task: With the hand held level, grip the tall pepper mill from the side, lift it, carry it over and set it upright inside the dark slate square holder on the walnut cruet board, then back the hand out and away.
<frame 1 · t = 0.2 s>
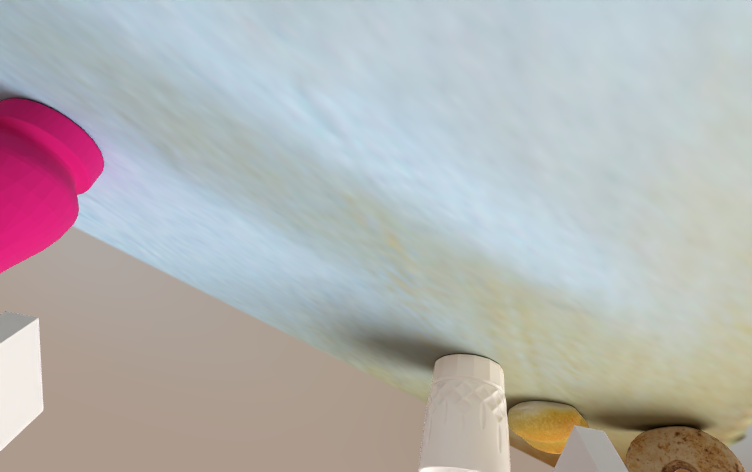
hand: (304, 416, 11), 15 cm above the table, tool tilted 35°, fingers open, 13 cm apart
pepper mill: (54, 138, 27), on the table
white cup: (468, 365, 44), on the table
bread roll: (547, 410, 51), on the table
stone disc: (671, 426, 47), on the table
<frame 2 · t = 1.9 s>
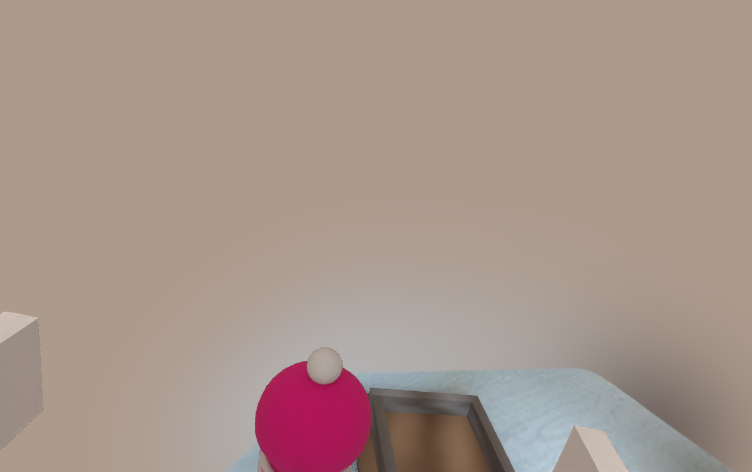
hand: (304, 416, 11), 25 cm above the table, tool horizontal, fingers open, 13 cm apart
cruet board: (432, 460, 42), on the table
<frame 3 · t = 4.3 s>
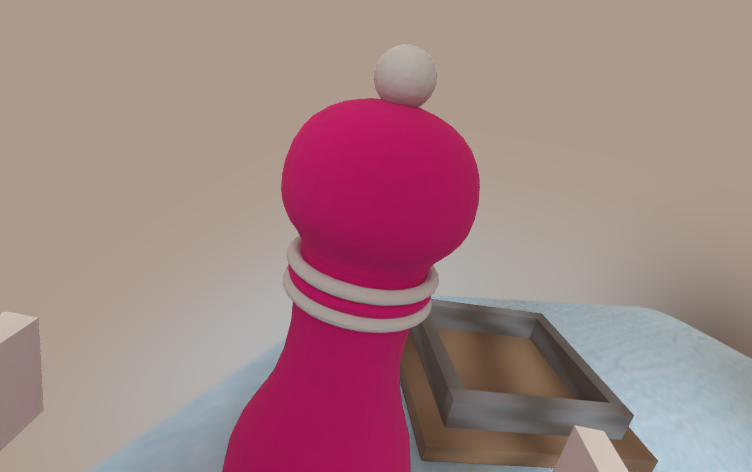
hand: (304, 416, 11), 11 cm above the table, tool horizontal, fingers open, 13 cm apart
cruet board: (494, 381, 33), on the table
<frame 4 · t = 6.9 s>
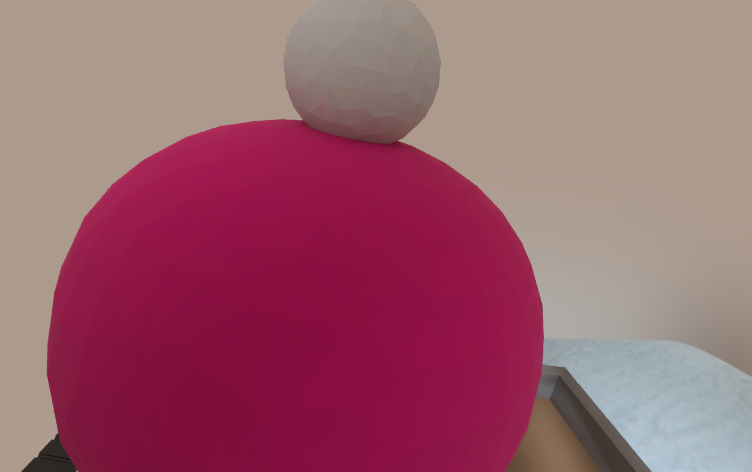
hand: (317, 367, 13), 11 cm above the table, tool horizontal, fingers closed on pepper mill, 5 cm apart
cruet board: (510, 467, 25), on the table
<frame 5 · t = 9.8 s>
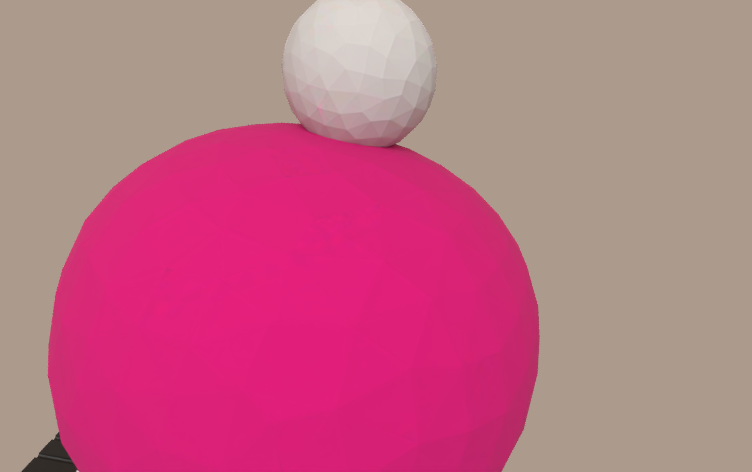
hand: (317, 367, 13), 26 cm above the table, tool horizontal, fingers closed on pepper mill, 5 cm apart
when the fingers open (13 cm above the table, at t = 13.0 s): pepper mill stays where it is, resting on cruet board.
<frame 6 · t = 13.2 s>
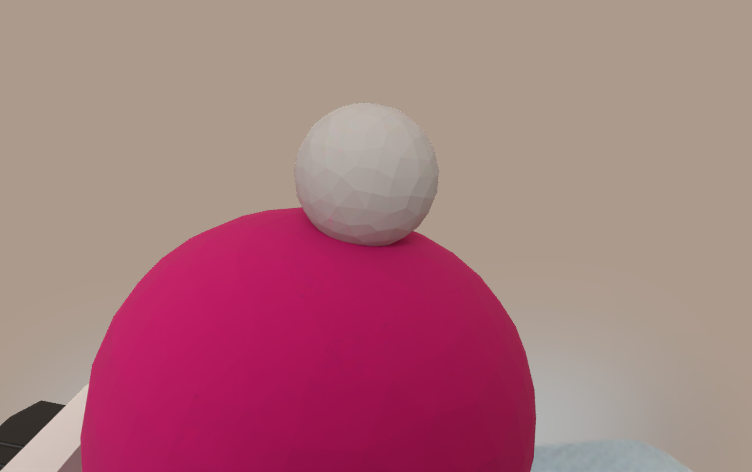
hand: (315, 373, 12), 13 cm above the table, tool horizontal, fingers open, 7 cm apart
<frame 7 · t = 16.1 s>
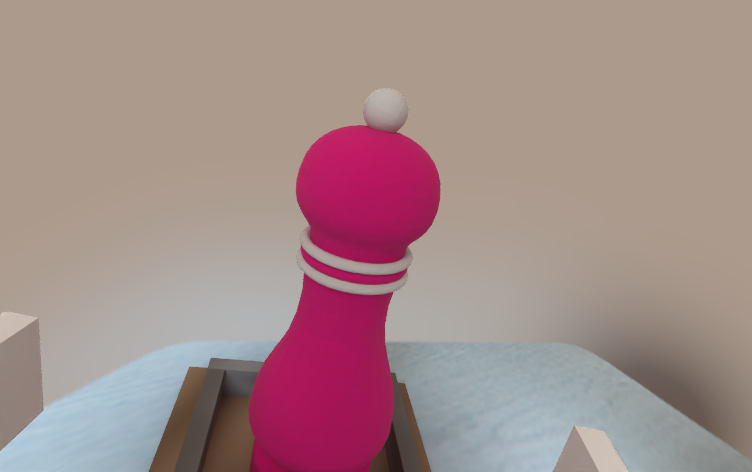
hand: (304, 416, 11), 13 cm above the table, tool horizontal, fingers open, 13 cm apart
pepper mill: (308, 471, 24), point 1 cm above the table, touching cruet board
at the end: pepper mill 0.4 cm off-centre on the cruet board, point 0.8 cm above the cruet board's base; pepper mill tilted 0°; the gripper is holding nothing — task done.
